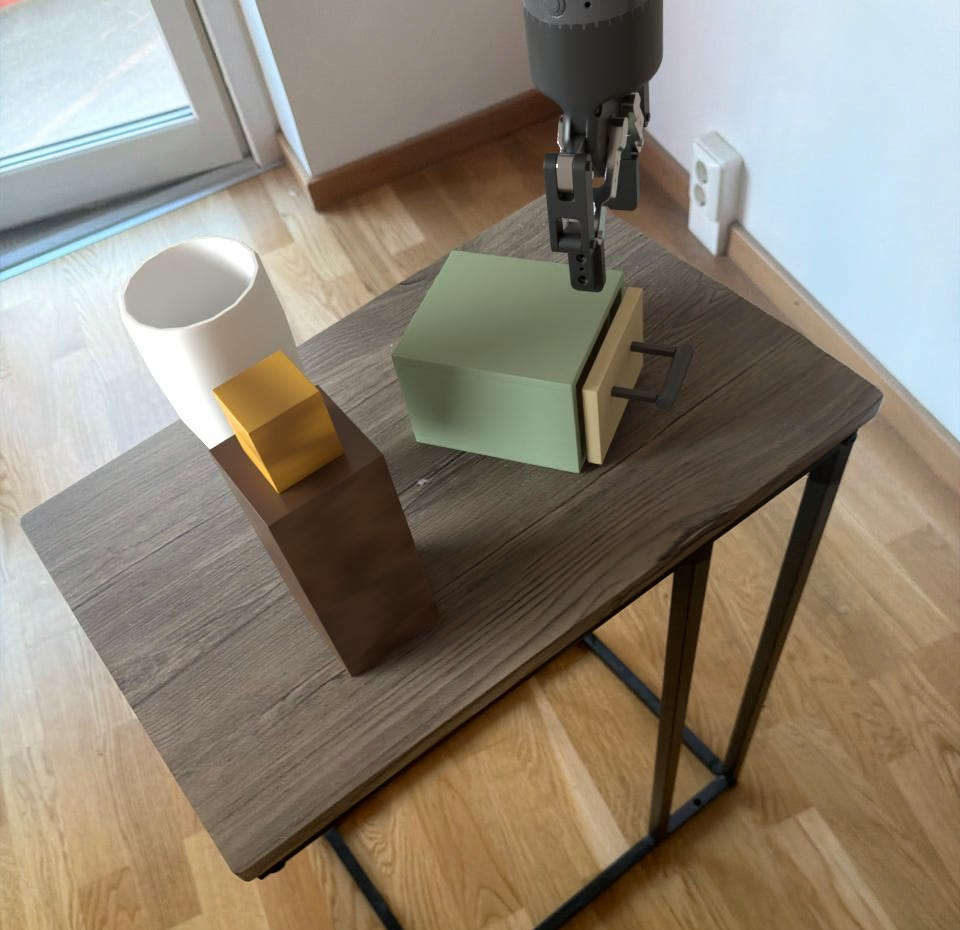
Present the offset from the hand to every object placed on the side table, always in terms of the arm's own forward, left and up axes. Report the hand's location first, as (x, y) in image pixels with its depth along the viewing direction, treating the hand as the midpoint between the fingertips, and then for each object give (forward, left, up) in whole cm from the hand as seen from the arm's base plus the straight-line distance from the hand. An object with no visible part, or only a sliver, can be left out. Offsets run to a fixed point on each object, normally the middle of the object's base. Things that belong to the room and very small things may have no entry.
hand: (606, 246), depth 63 cm
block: (+21, +15, +1) cm, 26 cm away
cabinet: (+7, -4, -17) cm, 19 cm away
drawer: (+3, -2, -16) cm, 16 cm away
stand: (+21, +15, -17) cm, 31 cm away
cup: (+27, +2, -17) cm, 32 cm away
